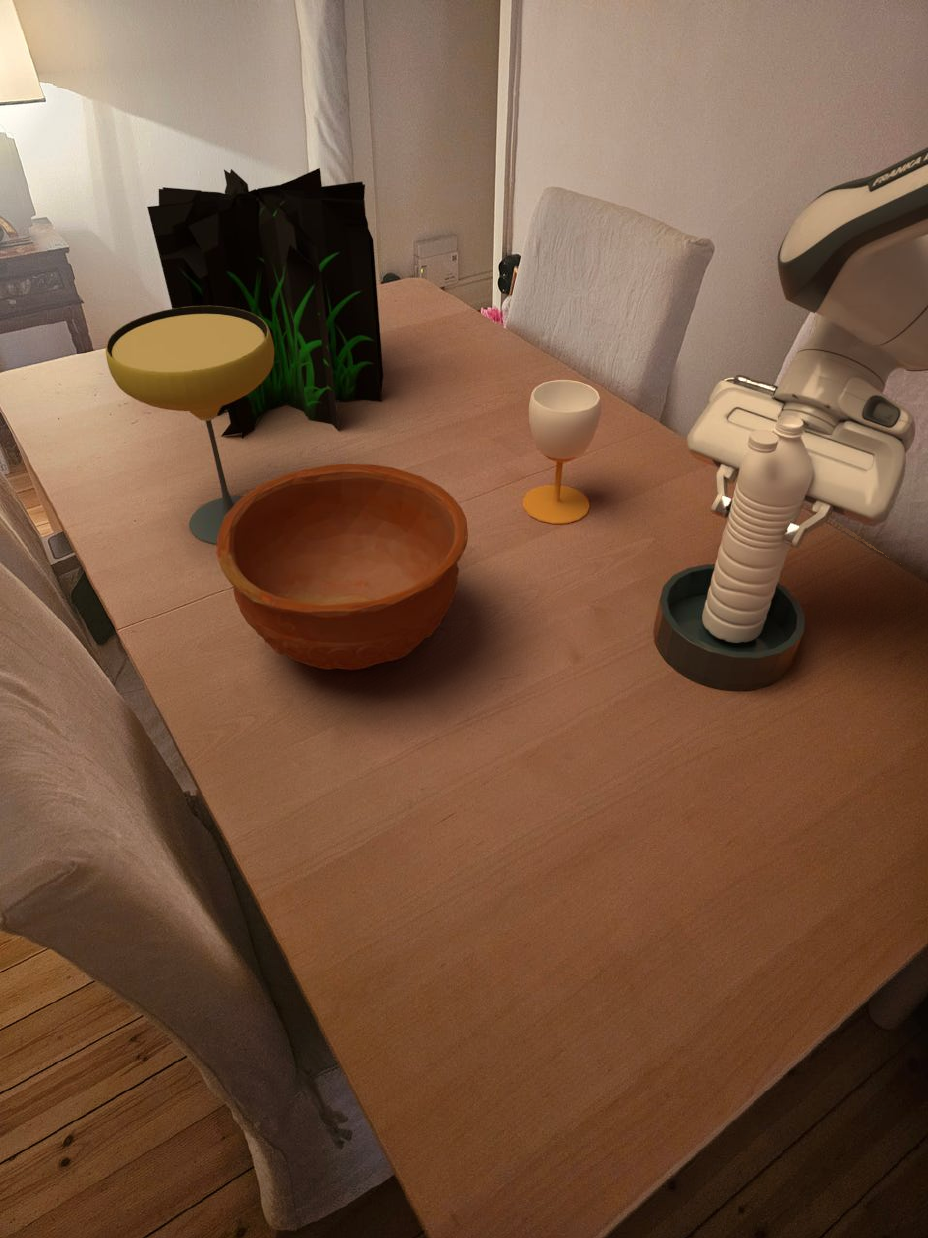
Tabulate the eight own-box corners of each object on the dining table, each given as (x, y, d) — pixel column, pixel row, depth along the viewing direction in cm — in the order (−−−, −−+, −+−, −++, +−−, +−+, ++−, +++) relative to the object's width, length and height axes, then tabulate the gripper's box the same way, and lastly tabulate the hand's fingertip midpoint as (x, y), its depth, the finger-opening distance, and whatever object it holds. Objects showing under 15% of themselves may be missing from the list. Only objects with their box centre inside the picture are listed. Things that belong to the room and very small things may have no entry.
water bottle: (723, 596, 94) (778, 395, 77) (773, 625, 90) (842, 420, 74) (677, 632, 90) (724, 427, 73) (727, 663, 86) (790, 456, 69)
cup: (552, 532, 106) (562, 421, 95) (508, 500, 111) (513, 391, 101) (603, 509, 110) (618, 399, 99) (559, 478, 115) (569, 371, 104)
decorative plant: (202, 363, 142) (158, 172, 122) (374, 349, 146) (359, 161, 126) (192, 449, 121) (137, 235, 101) (393, 430, 125) (379, 221, 105)
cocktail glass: (263, 468, 117) (229, 292, 101) (325, 528, 107) (299, 344, 90) (140, 511, 110) (81, 329, 93) (193, 582, 99) (138, 390, 82)
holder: (812, 632, 92) (825, 599, 89) (758, 713, 84) (771, 679, 80) (690, 580, 99) (698, 547, 96) (629, 650, 90) (635, 616, 87)
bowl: (203, 626, 93) (171, 518, 83) (382, 539, 105) (373, 436, 95) (322, 760, 79) (301, 650, 69) (513, 643, 91) (519, 535, 81)
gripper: (718, 356, 81) (652, 481, 82) (932, 423, 72) (853, 564, 73) (730, 381, 87) (667, 499, 88) (929, 447, 77) (856, 578, 78)
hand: (753, 529), depth 80 cm, fingers closed on water bottle, 6 cm apart
